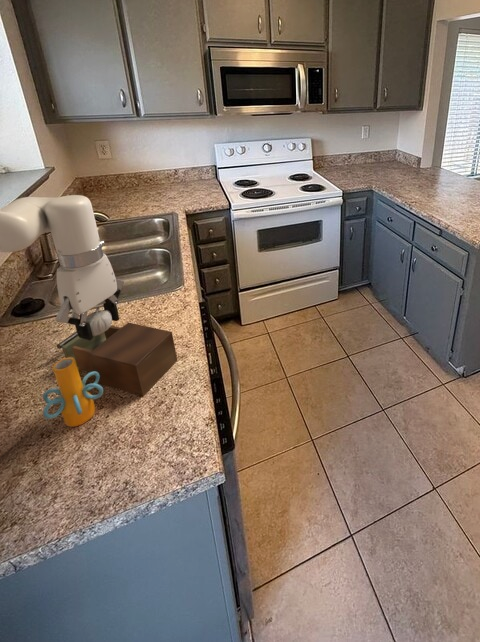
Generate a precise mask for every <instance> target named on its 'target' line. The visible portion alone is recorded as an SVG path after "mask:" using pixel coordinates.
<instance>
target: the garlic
mask: <svg viewBox="0 0 480 642" xmlns="http://www.w3.org/2000/svg"><path fill="white" fill-rule="evenodd" d="M112 322H113V320H112V314H111V312H110V311H109V310H104V309H102V310H101V309H100V306H97V307H96V310H95V311H93V312H90V313H89V314H87V319H86V323H89V324H90V327H91V331H92V335H93V336H95V335H99V334H101V333H103V332H105V331H106V330H108V329H109V328H110V326H112Z"/></svg>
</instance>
